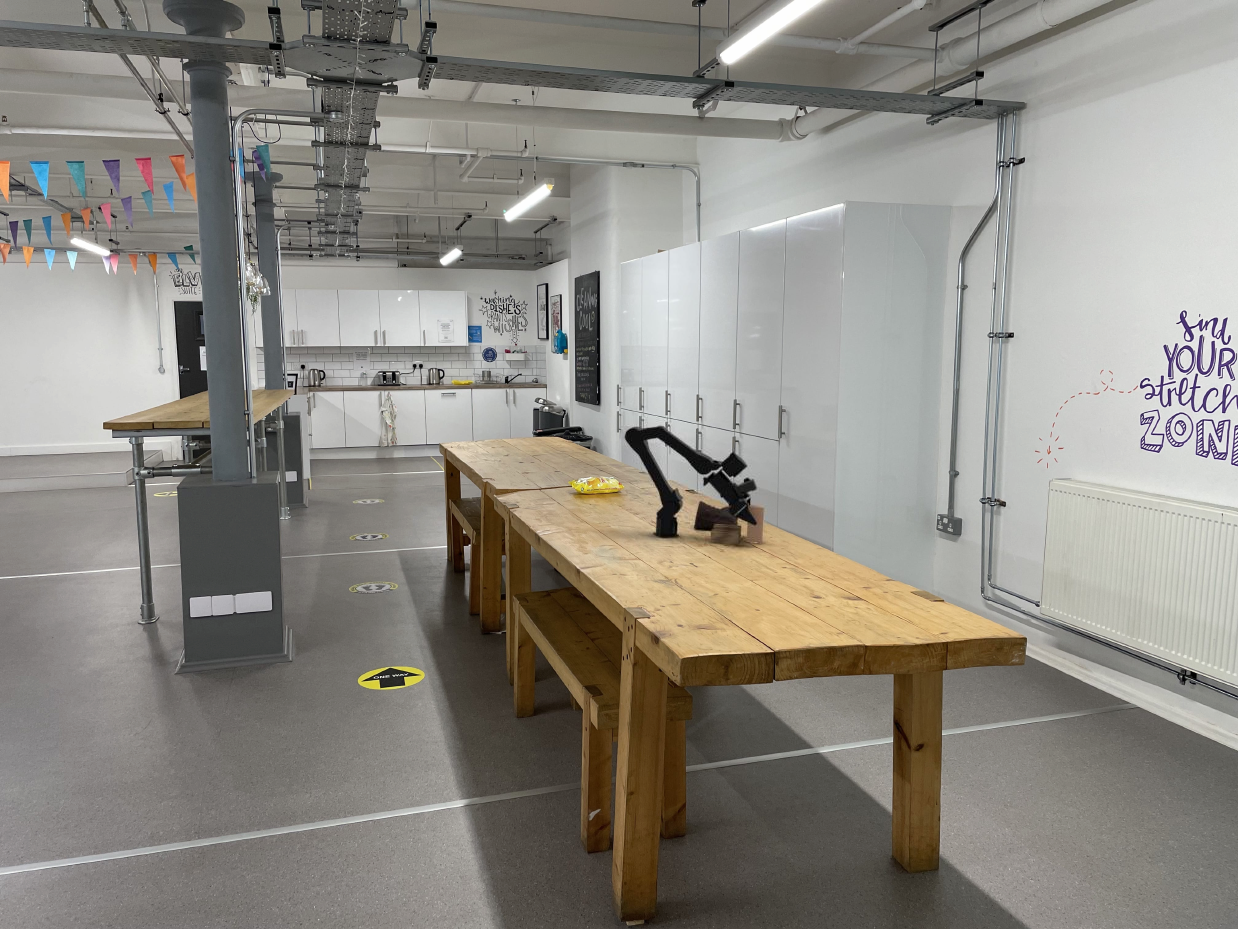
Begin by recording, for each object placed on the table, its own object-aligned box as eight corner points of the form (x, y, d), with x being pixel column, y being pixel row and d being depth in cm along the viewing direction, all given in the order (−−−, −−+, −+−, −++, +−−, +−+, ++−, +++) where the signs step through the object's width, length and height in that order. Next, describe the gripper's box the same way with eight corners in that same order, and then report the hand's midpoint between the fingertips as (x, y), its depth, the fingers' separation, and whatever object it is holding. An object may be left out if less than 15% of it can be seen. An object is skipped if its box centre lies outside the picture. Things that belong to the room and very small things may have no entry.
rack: (710, 543, 280) (710, 531, 279) (714, 534, 293) (714, 523, 292) (738, 545, 278) (738, 533, 278) (740, 536, 291) (741, 525, 290)
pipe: (740, 504, 311) (700, 495, 312) (742, 514, 296) (699, 504, 297) (734, 529, 313) (694, 520, 314) (735, 541, 298) (693, 531, 299)
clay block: (746, 542, 282) (748, 506, 280) (747, 540, 286) (749, 504, 284) (761, 543, 281) (763, 507, 279) (762, 541, 285) (764, 505, 283)
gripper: (740, 474, 272) (774, 511, 272) (744, 467, 290) (776, 501, 290) (715, 497, 275) (748, 533, 274) (720, 488, 293) (751, 522, 292)
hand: (756, 522), depth 282 cm, fingers open, 8 cm apart
